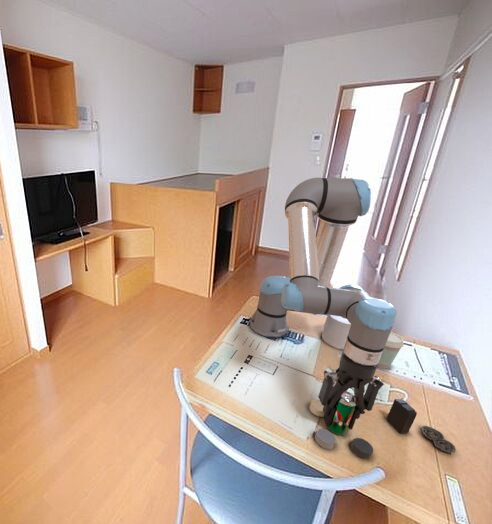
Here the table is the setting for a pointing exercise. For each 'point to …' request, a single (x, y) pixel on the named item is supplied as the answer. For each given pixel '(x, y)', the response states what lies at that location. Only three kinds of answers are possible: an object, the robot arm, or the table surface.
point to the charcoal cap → (362, 448)
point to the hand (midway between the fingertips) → (337, 423)
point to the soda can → (343, 413)
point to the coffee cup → (390, 350)
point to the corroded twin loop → (438, 439)
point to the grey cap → (325, 438)
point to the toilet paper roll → (336, 331)
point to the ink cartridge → (401, 416)
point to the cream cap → (316, 408)
